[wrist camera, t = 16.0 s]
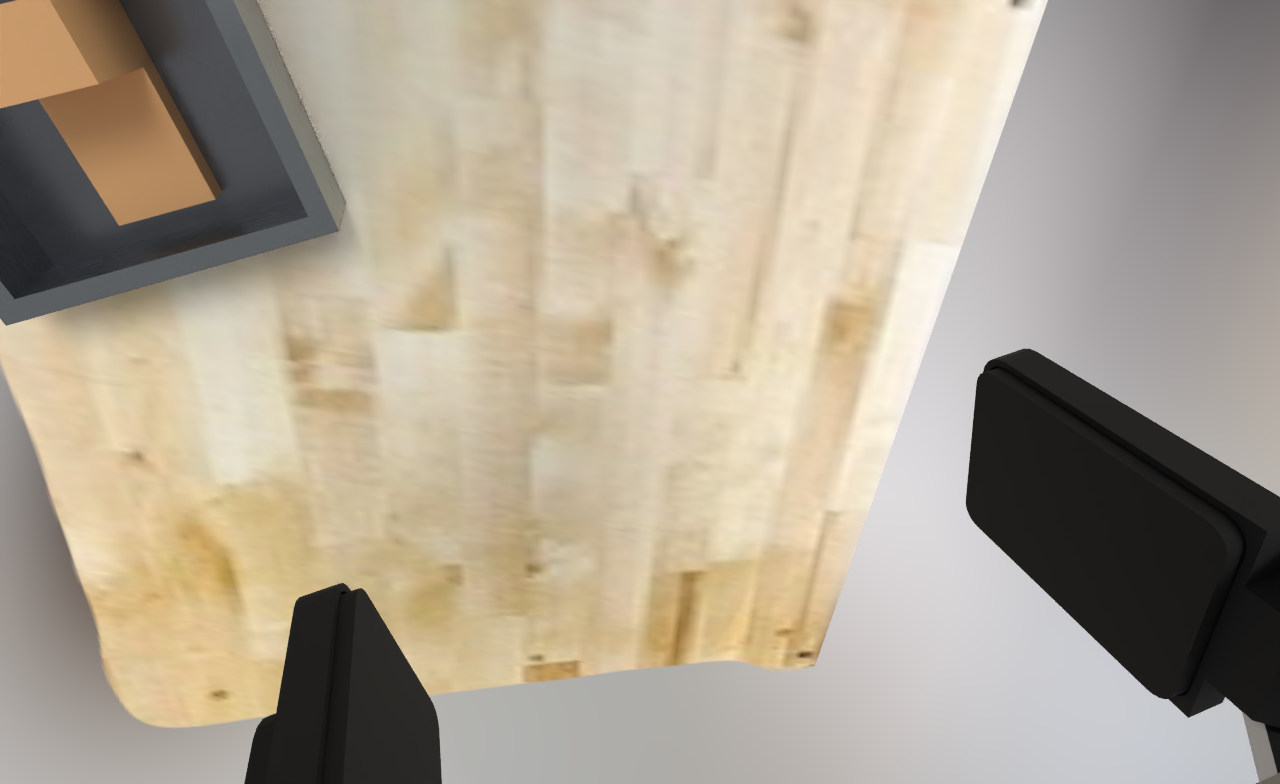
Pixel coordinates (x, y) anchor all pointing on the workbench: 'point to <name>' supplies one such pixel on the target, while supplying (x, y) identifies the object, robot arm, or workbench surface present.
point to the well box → (228, 139)
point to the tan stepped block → (104, 103)
